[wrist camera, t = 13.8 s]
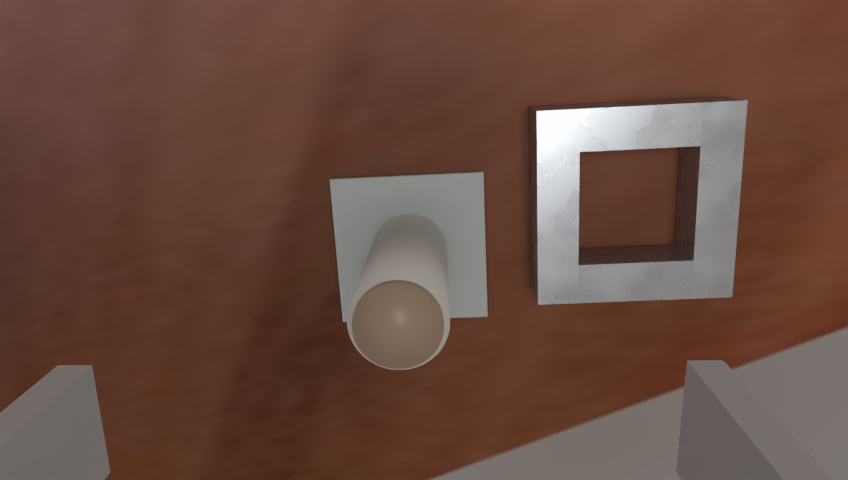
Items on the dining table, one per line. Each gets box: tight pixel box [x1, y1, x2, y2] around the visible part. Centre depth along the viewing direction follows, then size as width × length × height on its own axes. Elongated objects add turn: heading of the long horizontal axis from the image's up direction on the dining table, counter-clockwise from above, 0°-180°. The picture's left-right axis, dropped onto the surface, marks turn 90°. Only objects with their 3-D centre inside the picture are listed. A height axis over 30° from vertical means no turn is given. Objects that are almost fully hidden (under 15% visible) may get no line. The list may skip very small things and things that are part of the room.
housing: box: [529, 97, 748, 305], centre depth 41 cm, size 12×12×4 cm
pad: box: [330, 172, 488, 322], centre depth 44 cm, size 10×10×1 cm
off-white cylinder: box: [347, 214, 450, 370], centre depth 38 cm, size 5×5×13 cm
